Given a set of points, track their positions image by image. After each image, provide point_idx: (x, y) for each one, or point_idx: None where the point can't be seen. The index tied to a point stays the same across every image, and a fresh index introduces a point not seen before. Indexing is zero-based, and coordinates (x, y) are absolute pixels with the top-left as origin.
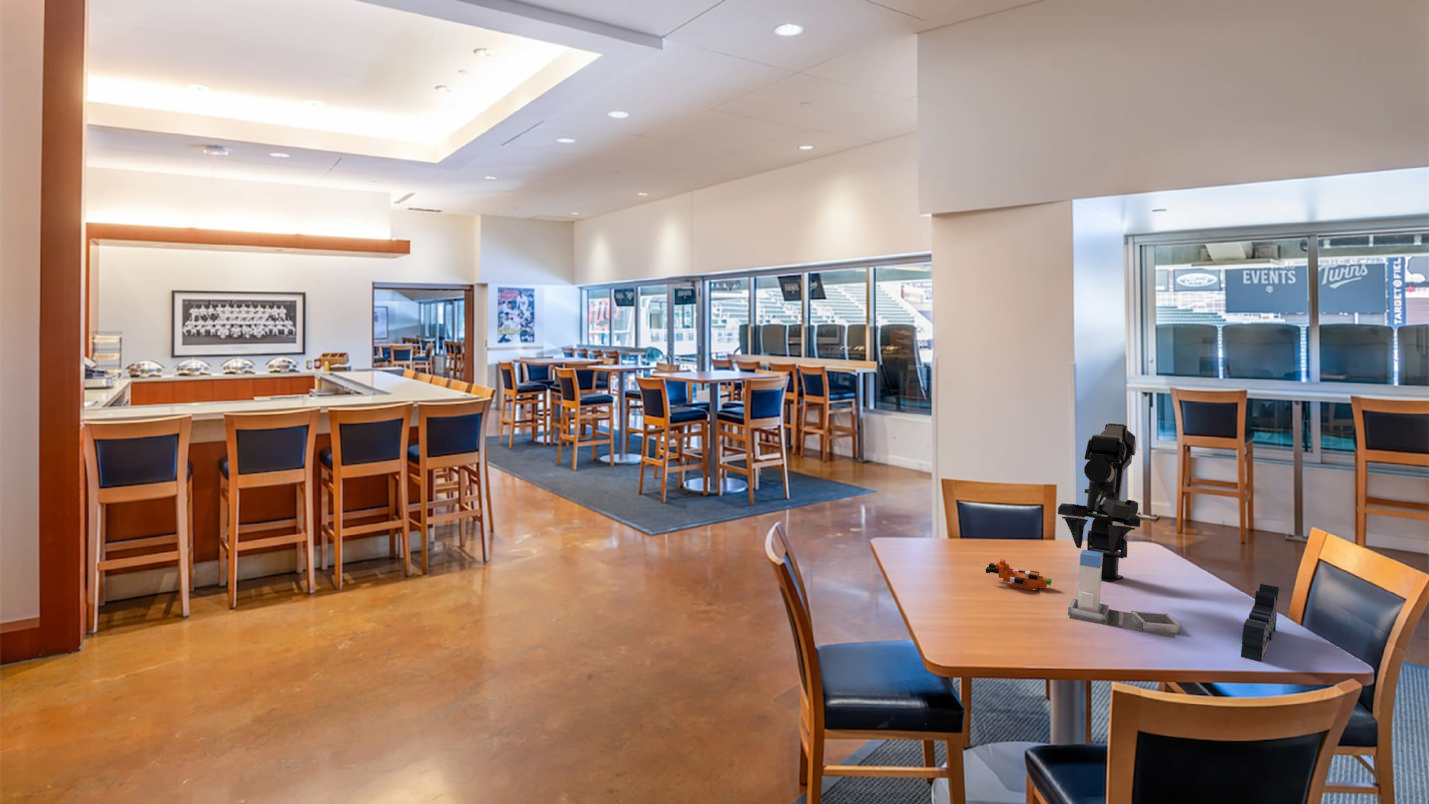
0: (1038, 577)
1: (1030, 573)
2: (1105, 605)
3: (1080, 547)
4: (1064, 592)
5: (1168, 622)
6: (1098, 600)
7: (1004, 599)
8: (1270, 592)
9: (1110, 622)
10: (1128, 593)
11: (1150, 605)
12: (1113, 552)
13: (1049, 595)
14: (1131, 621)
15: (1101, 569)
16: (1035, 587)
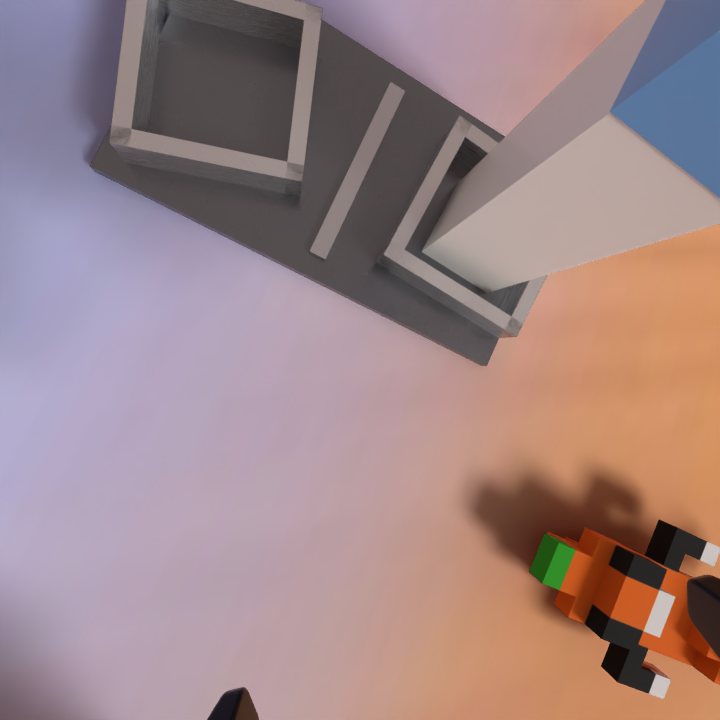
0: (596, 591)
1: (651, 596)
2: (402, 248)
3: (704, 578)
4: (456, 535)
5: (146, 97)
6: (489, 161)
7: (714, 396)
8: None
9: (421, 133)
10: (124, 595)
11: (88, 417)
12: (240, 697)
13: (535, 478)
14: (320, 146)
15: (583, 118)
16: (589, 529)
